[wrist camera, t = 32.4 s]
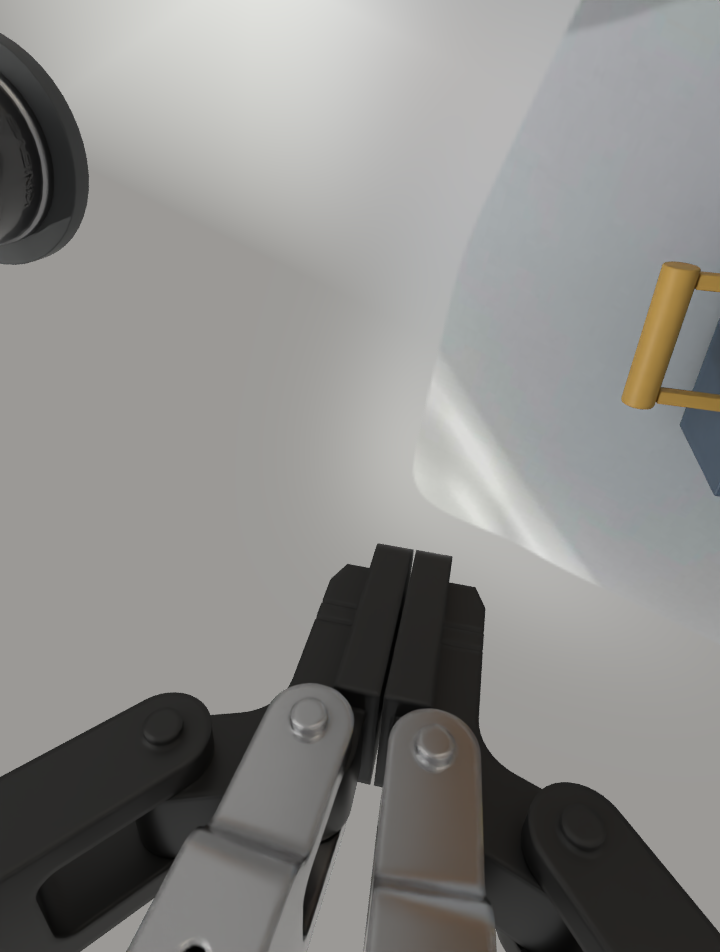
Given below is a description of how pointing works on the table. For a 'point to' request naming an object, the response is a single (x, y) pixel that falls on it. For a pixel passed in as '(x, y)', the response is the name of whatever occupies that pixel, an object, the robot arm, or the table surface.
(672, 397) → the drawer
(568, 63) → the table surface
